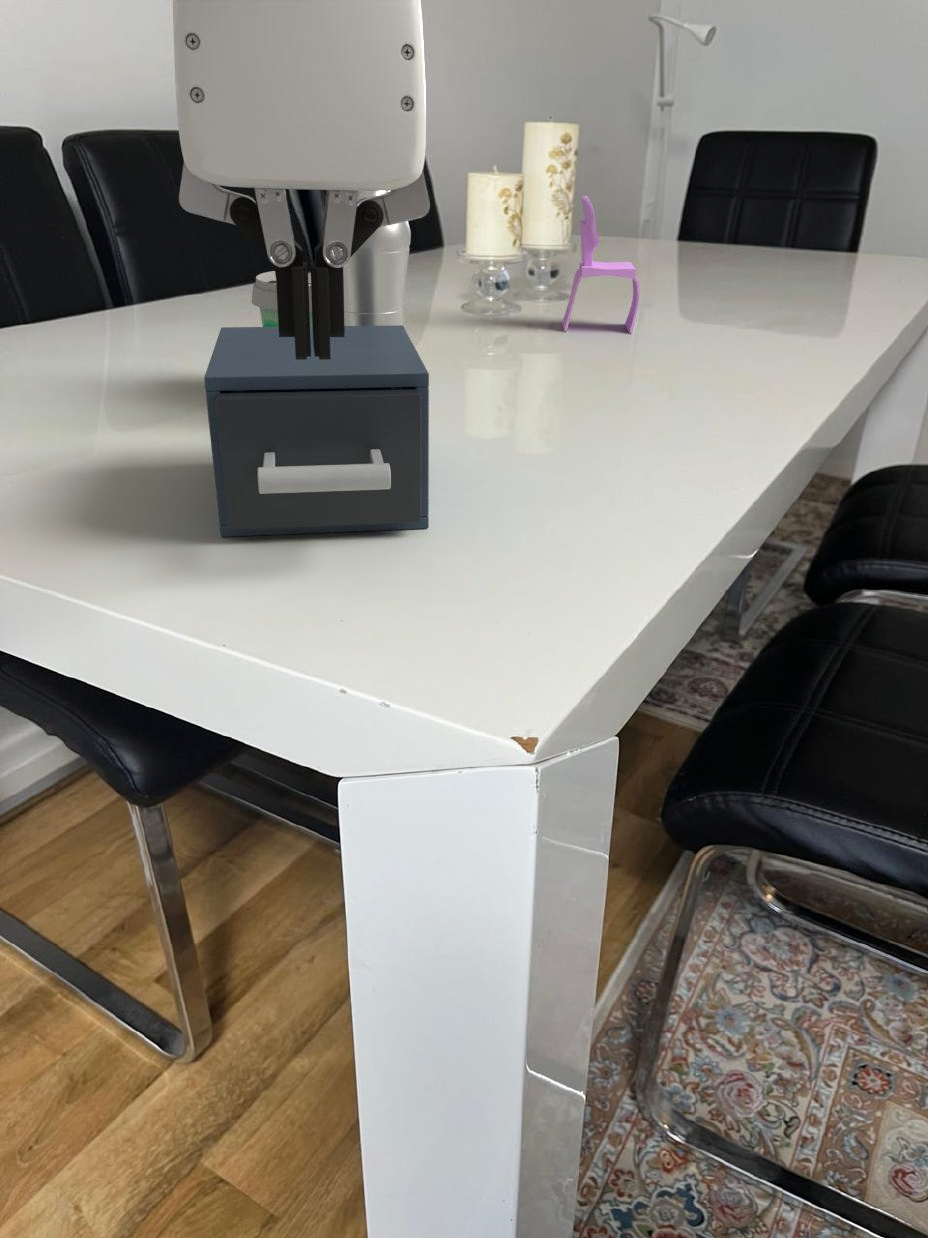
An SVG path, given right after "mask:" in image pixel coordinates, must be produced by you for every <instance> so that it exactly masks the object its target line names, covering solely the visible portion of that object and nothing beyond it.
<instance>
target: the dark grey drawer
mask: <svg viewBox="0 0 928 1238" xmlns="http://www.w3.org/2000/svg"><path fill="white" fill-rule="evenodd" d="M215 401H216V411H217V421H218V431H219V441H220V451H221V461H222V470H223V480H224V490H225V500H226V510H227V520H228V529H229V530H242V529H267V528H291V527H316V526H340V525H364V524H389V523H413V522H421V394H420V392H419V390H418V389H413V390H404V387H396V388H347V389H297V390H247V391H231V393H218V394H217V396H216V399H215Z"/></svg>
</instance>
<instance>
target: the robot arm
mask: <svg viewBox="0 0 928 1238" xmlns="http://www.w3.org/2000/svg"><path fill="white" fill-rule="evenodd" d="M172 23H173V24H172V25H173V26H172V27H173V28H172V30H173V55H174V56H173V59H174V60H173V61H174V82H175V101H176V115H177V116H176V117H177V126H178V136H179V144H180V148H181V154H182V158H183V163H182V164H183V165H182V172H181V179H180V184H179V185H180V186H179V191H178V192H179V193H178V202H179V203H178V204H179V205H180V207H181V208H182V209H183V210H184V211H186V212H187V213H189V214H193V215H197V216H201V217H203V218H208V219H212V220H215V221H218V222H223V223H228V224H231V225H234V226H237V227H238V228H239V230H241V231H242V233H244V234H245V236H247V237H248V238H249V240H250V241H251V242H253V244H254V245H255V246H256V247H257V248H258V249H259V250H261V252H263V253H264V254H265V256H266V257H267V258H268V260H269V261H270V262H271V263H272V264H273V265H274V266H275V276H276V288H277V307H278V326H279V337H295V355H296V360H307V357H311V337H310V310H309V284H308V283H309V269H310V283H311V295H312V323H313V346H314V354H315V357H319V360H330V359H331V355H330V337H344V336H345V324H344V277H343V266H345V265H346V264H347V263H348V261H349V259H350V257H351V256H352V255H353V254H354V253H355V252H356V251H357V250H358V249H359V248H360V247H361V246H362V245H363V244H364V243H365V242H366V240H367V239H368V238H369V237H370V236H371V235H372V234H373V233H374V232H375V231H376V230H377V229H378V228H380V227H384V226H388V225H389V226H390V225H394V224H398V223H402V222H406V221H408V222H410V221H414V220H417V219H423V218H424V217H426V216H427V214H429V212H430V209H431V202H430V197H429V196H430V195H429V191H428V188H427V183H426V178H425V173H424V166H425V160H426V149H427V148H426V147H427V101H426V99H427V98H426V96H427V95H426V72H425V71H426V70H425V68H426V67H425V47H424V46H425V45H424V29H423V28H424V27H423V13H422V3H421V0H172ZM222 186H223V187H229V188H246V189H254V194H255V198H256V199H255V198H254V197H253V196H252V195H248V194H243V193H239V192H236V191H233V190H230V189H226V188H223V187H222ZM286 190H311V191H312V190H313V191H314V190H316V191H326V193H325V202H324V211H323V220H322V221H323V222H322V228H321V229H322V231H321V236H320V237H321V240H320V241H319V243H317V245H315V247H314V261H313V262H309V264H310V268H309V267H308V262H306V261H305V262H304V258H303V257H304V256H303V255H304V253H303V247H302V246H301V245H300V244H299V243H298V242H297V241H296V240H295V237H294V232H293V225H292V221H291V220H292V219H291V214H290V209H289V204H288V199H287V194H286V193H287V192H286ZM385 190H390V191H389V192H387V193H385V194H380V195H378V196H374V197H369V198H363V199H361V200H359V201H358V202H357V199H358V191H385ZM308 268H309V269H308Z"/></svg>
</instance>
